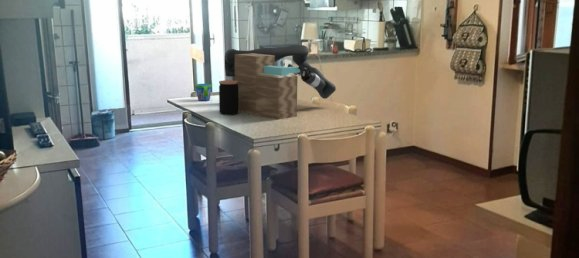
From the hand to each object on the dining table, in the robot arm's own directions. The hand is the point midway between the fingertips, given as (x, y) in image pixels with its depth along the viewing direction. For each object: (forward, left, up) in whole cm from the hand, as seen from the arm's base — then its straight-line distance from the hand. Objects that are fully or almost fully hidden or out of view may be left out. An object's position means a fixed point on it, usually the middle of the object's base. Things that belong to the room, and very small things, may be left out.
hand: (293, 65), depth 314 cm
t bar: (-5, -5, -4) cm, 7 cm away
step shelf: (-16, -3, -26) cm, 31 cm away
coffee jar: (-36, -5, -27) cm, 45 cm away
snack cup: (-57, +40, -27) cm, 74 cm away
